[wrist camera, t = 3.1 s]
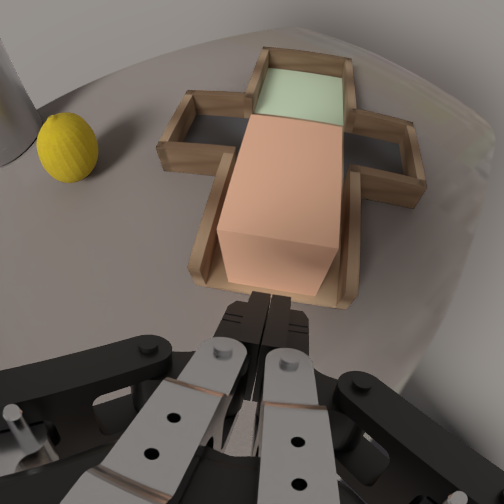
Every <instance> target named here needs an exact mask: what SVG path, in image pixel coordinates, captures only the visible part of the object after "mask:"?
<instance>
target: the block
mask: <svg viewBox="0 0 504 504" xmlns="http://www.w3.org/2000/svg"><path fill="white" fill-rule="evenodd" d="M341 185H342V127H338V126H332V125H326V124H321V123H314V122H308V121H301V120H294V119H287V118H279V117H271V116H262V115H253V114H251V116H250V119H249V122H248V125H247V128H246V131H245V135H244V138H243V141H242V144H241V148H240V151H239V154H238V157H237V161H236V164H235V167H234V171H233V174H232V177H231V181H230V184H229V188H228V191H227V195H226V198H225V201H224V205H223V208H222V212H221V215H220V219H219V223H218V226H217V234H218V238H219V243H220V247H221V252H222V256H223V261H224V265H225V269H226V274H227V278H228V282H232V283H237V284H243V285H249V286H255V287H261V288H267V289H273V290H279V291H285V292H292V293H298V294H304V295H311V296H316V294H317V292H318V290H319V288H320V286H321V284H322V282H323V280H324V278H325V276H326V274H327V272H328V270H329V268H330V266H331V264H332V261H333V259H334V257H335V255H336V253H337V251H338V249H339V233H340V213H341Z"/></svg>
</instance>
